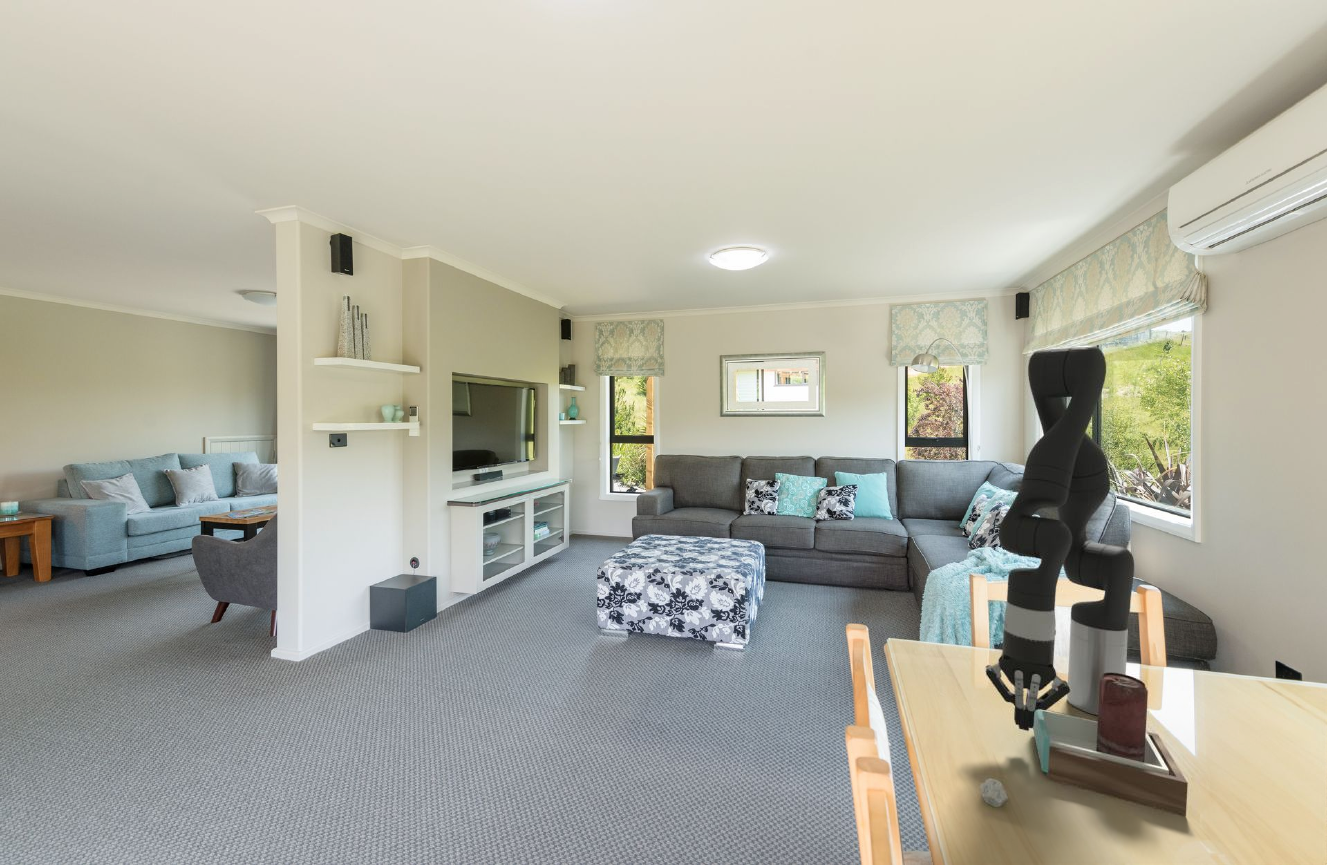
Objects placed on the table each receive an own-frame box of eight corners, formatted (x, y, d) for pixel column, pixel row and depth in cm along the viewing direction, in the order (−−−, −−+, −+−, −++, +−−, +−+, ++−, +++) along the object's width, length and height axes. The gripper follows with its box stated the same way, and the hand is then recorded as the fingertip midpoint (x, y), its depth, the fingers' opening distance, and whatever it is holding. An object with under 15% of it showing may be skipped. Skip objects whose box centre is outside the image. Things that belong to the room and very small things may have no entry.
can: (1085, 752, 96) (1089, 671, 96) (1120, 751, 97) (1124, 670, 97) (1117, 775, 90) (1121, 688, 90) (1154, 773, 91) (1158, 687, 91)
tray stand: (1037, 734, 105) (1038, 707, 105) (1156, 762, 97) (1157, 733, 97) (1047, 779, 92) (1049, 748, 92) (1185, 815, 84) (1187, 782, 84)
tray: (1032, 727, 106) (1033, 698, 105) (1143, 753, 98) (1144, 722, 98) (1042, 770, 92) (1043, 738, 92) (1170, 804, 85) (1172, 768, 85)
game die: (977, 802, 86) (978, 783, 86) (983, 790, 89) (983, 772, 89) (1003, 814, 84) (1004, 794, 84) (1009, 801, 87) (1010, 782, 86)
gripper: (1071, 631, 100) (1065, 728, 100) (984, 616, 106) (979, 708, 106) (1079, 646, 93) (1072, 750, 94) (986, 629, 99) (980, 727, 100)
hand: (1023, 727), depth 100 cm, fingers closed
